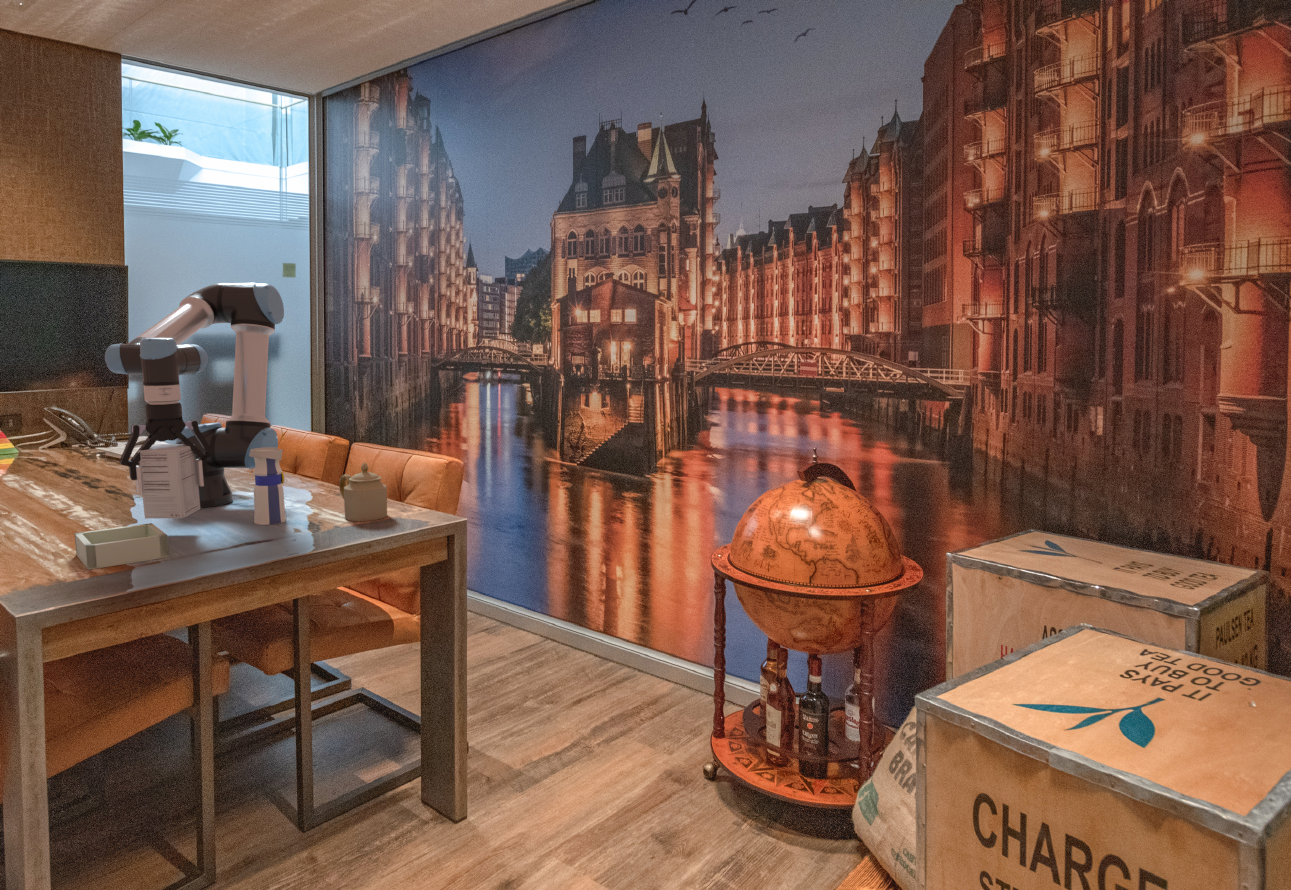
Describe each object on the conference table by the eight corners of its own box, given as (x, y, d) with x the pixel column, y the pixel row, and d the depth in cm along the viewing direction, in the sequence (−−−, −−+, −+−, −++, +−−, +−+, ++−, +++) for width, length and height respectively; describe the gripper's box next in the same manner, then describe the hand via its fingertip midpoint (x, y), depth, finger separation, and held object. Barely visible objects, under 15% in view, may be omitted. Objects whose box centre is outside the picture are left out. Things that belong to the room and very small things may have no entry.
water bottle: (280, 516, 220) (275, 425, 216) (292, 521, 214) (287, 427, 210) (248, 520, 214) (243, 427, 211) (260, 526, 208) (254, 430, 204)
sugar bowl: (323, 520, 215) (321, 465, 213) (343, 511, 226) (341, 458, 224) (376, 522, 214) (374, 466, 212) (394, 513, 225) (392, 460, 223)
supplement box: (163, 509, 203) (157, 443, 200) (201, 509, 203) (196, 443, 201) (143, 519, 193) (136, 450, 190) (183, 518, 194) (177, 449, 191)
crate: (153, 543, 190) (151, 523, 189) (169, 556, 179) (167, 535, 178) (76, 555, 180) (74, 533, 179) (88, 569, 169) (86, 546, 168)
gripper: (105, 407, 183) (114, 499, 186) (223, 400, 199) (229, 484, 203) (99, 404, 188) (108, 493, 192) (214, 397, 205) (221, 480, 208)
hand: (170, 489), depth 197 cm, fingers closed on supplement box, 12 cm apart
